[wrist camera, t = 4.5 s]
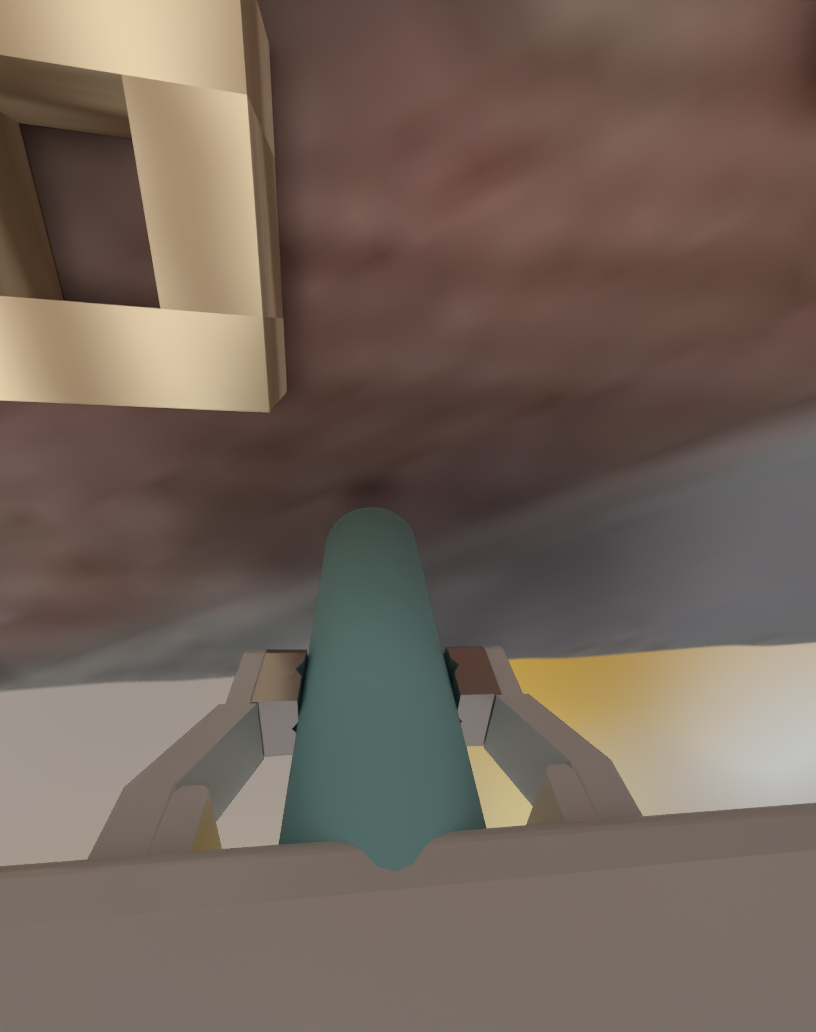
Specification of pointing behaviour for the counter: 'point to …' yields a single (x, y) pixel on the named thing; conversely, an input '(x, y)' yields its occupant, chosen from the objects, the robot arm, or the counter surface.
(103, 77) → the socket block
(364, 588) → the peg
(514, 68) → the counter surface
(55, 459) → the counter surface
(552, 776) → the robot arm
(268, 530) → the counter surface
